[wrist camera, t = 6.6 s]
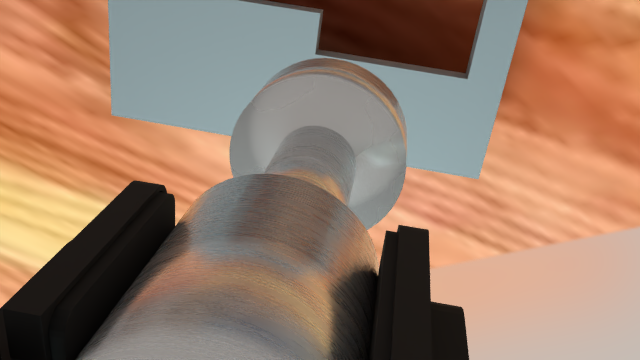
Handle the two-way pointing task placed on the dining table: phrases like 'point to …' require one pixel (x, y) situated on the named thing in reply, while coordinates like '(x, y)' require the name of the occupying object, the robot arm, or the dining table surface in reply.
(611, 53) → the dining table surface
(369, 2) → the dining table surface
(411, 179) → the dining table surface
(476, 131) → the keyhole plate
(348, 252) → the steel peg
